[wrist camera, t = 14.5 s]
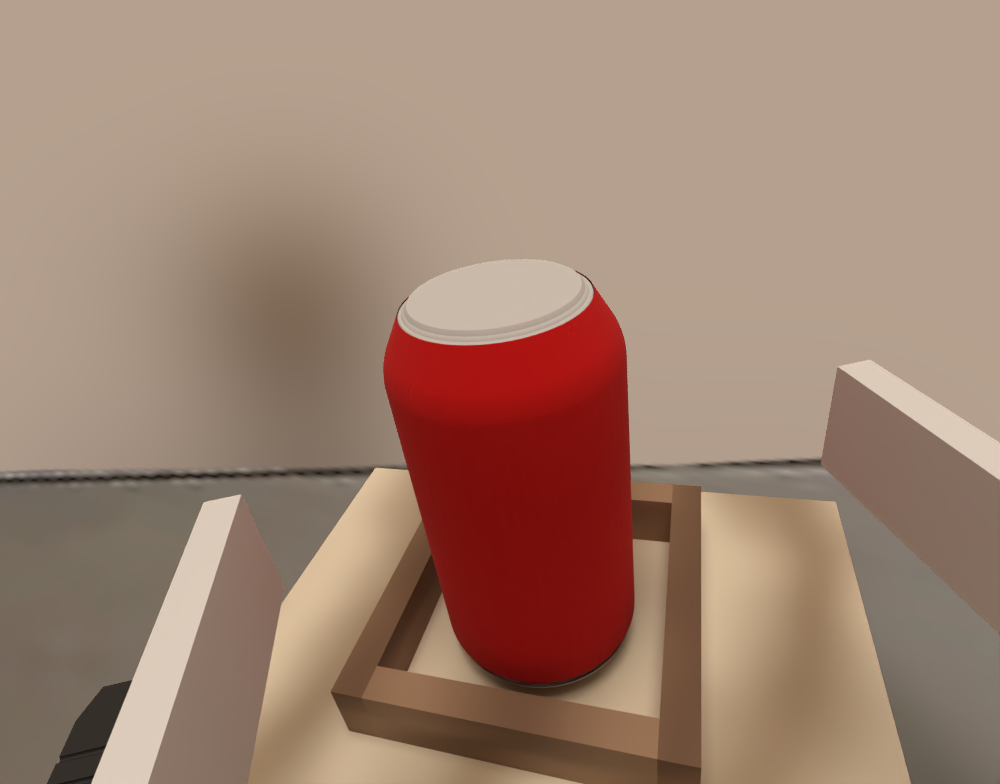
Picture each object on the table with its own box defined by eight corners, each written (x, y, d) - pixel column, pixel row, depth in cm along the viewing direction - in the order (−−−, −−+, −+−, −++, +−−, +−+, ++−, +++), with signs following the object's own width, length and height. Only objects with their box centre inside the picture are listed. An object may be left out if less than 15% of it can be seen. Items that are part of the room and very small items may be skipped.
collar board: (187, 784, 19) (141, 726, 17) (381, 486, 30) (365, 434, 28) (948, 999, 12) (991, 942, 11) (831, 524, 24) (843, 461, 22)
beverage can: (492, 740, 17) (397, 383, 11) (434, 586, 22) (348, 284, 16) (673, 654, 19) (680, 298, 12) (580, 529, 24) (552, 232, 18)
